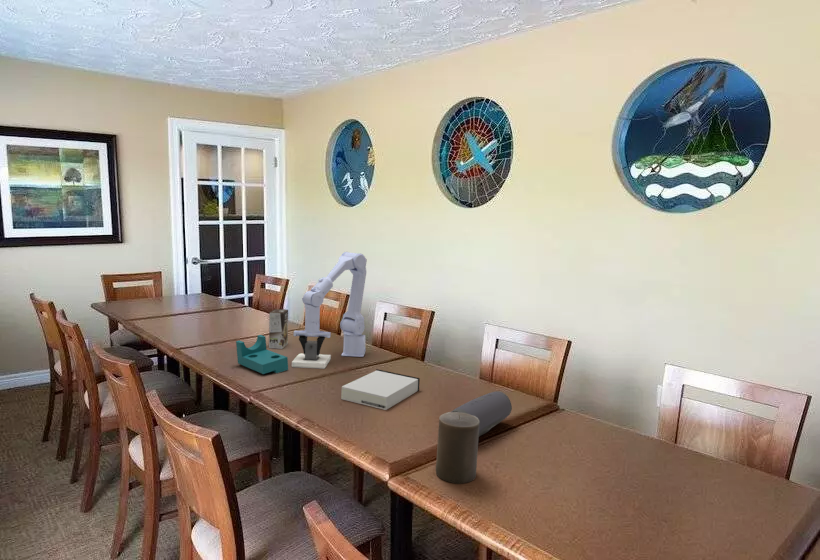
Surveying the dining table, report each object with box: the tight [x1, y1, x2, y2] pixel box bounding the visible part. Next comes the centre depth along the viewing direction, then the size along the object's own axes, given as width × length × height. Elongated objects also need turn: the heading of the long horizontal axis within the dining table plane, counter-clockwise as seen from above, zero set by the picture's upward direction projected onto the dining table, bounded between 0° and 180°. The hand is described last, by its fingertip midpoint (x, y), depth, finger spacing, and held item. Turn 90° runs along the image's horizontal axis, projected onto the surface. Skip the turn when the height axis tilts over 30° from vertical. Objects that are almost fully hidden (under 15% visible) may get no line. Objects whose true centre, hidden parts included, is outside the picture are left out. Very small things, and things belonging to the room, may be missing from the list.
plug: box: [305, 340, 319, 361], centre depth 210 cm, size 5×6×7 cm
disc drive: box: [340, 369, 421, 411], centre depth 179 cm, size 18×22×5 cm
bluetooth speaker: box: [450, 390, 513, 437], centre depth 150 cm, size 23×9×10 cm, turn 141°
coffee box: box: [268, 308, 289, 350], centre depth 235 cm, size 9×6×16 cm
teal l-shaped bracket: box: [235, 334, 289, 375], centre depth 202 cm, size 18×11×10 cm, turn 47°
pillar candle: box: [435, 411, 480, 485], centre depth 125 cm, size 10×10×15 cm
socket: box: [291, 353, 332, 370], centre depth 212 cm, size 13×13×2 cm
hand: (311, 354), depth 211 cm, fingers closed on plug, 5 cm apart
